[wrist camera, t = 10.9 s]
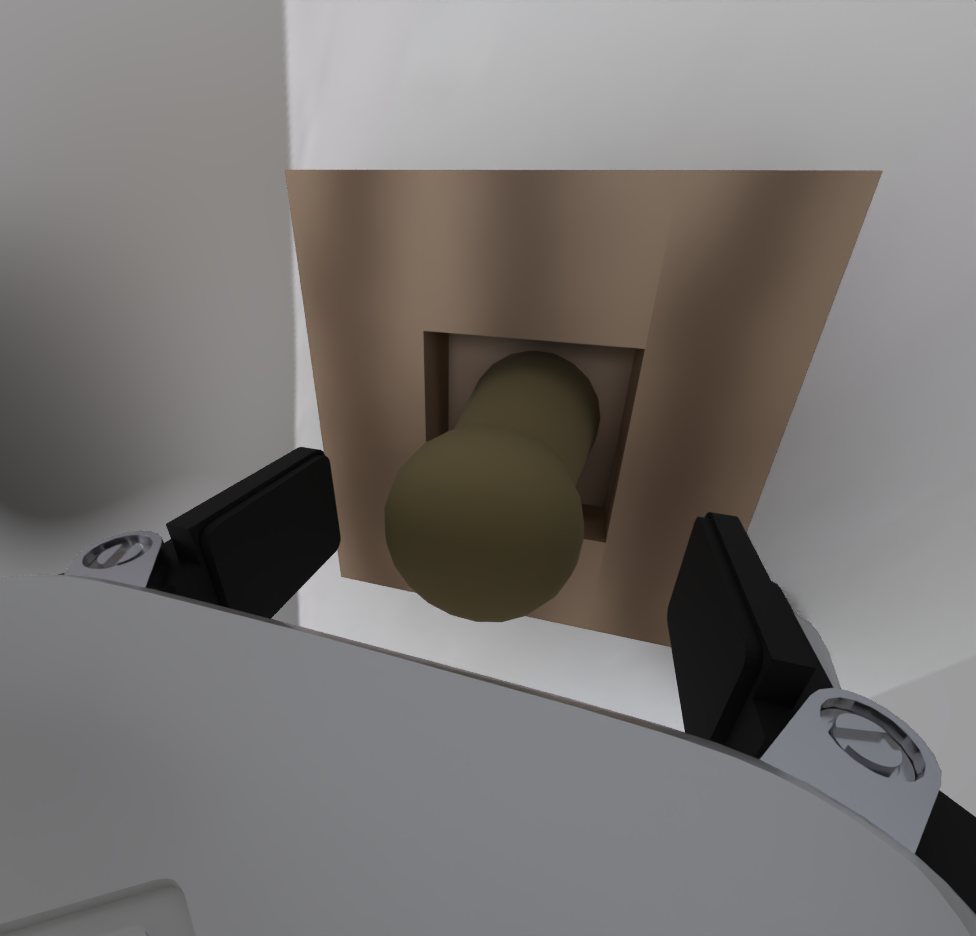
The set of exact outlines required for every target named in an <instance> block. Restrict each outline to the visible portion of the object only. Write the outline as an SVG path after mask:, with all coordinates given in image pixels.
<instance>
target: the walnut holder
mask: <svg viewBox="0 0 976 936" xmlns="http://www.w3.org/2000/svg"><path fill="white" fill-rule="evenodd" d="M285 174H286V182H287V189H288V196H289V203H290V210H291V218H292V225H293V232H294V239H295V247H296V254H297V261H298V268H299V275H300V283H301V290H302V297H303V304H304V311H305V319H306V326H307V333H308V340H309V347H310V355H311V362H312V369H313V376H314V383H315V391H316V398H317V405H318V412H319V420H320V427H321V434H322V441H323V448H324V454H325V456H327V457H328V458H329V460H330V465H331V472H332V479H333V486H334V493H335V500H336V507H337V514H338V521H339V528H340V535H341V542H340V545H339V547H338V556H339V564H340V571H341V577H345V578H350V579H354V580H359V581H364V582H368V583H373V584H378V585H382V586H387V587H392V588H396V589H401V590H406V591H411V592H415V591H414V590H413V589H412V588H410V587H409V586H408V584H407V583H406V582H405V580H404V579H403V577H402V576H401V574H400V573H399V572H398V570H397V569H396V567H395V566H394V563H393V561H392V558H391V555H390V552H389V549H388V546H387V543H386V537H385V511H384V507H385V504H386V501H387V499H388V496H389V493H390V490H391V488H392V485H393V482H394V480H395V478H396V475H397V473H398V471H399V470H400V468H401V467H402V466H403V465H404V464H405V463H406V462H407V461H408V460H409V459H410V457H411V456H412V455H413V454H414V453H415V452H416V451H417V450H418V449H419V448H420V447H421V446H422V445H424V444H425V443H426V442H428V441H430V440H432V439H434V438H436V437H438V436H440V435H442V434H444V433H446V432H448V431H450V430H453V429H454V428H455V426H456V424H457V422H458V420H459V418H460V416H461V414H462V412H463V410H464V408H465V406H466V404H467V403H468V401H469V399H470V397H471V395H472V393H473V391H474V389H475V387H476V385H477V383H478V381H479V379H480V378H481V377H482V375H483V374H484V373H485V372H486V371H487V370H488V369H489V368H490V367H491V366H492V364H494V363H496V362H498V361H499V360H501V359H503V358H505V357H507V356H508V355H510V354H514V353H520V352H525V351H531V350H534V351H541V352H548V353H554V354H556V355H558V356H560V357H562V358H564V359H566V360H568V361H570V362H572V363H574V364H575V365H576V366H577V367H578V368H579V369H580V370H581V371H582V372H583V373H584V374H585V375H586V376H587V377H588V378H589V380H590V382H591V384H592V386H593V388H594V391H595V393H596V395H597V397H598V401H599V410H600V423H599V427H598V432H597V436H596V440H595V442H594V444H593V447H592V449H591V451H590V454H589V456H588V458H587V461H586V463H585V465H584V468H583V470H582V472H581V475H580V477H579V479H578V482H577V484H576V486H575V487H576V489H577V491H578V493H579V495H580V498H581V505H582V513H583V520H584V539H583V543H582V547H581V551H580V555H579V559H578V563H577V565H576V567H575V569H574V571H573V573H572V575H571V577H570V578H569V579H568V581H567V582H566V583H565V585H564V586H563V588H562V589H561V590H560V592H559V593H558V594H557V596H556V597H554V598H553V599H551V600H550V601H548V602H546V603H545V604H543V605H542V606H540V607H539V608H537V609H536V610H534V611H532V612H531V613H529V614H527V615H526V616H528V617H533V618H537V619H542V620H547V621H551V622H556V623H561V624H565V625H570V626H575V627H579V628H584V629H589V630H594V631H598V632H603V633H608V634H612V635H617V636H622V637H626V638H631V639H636V640H640V641H645V642H650V643H655V644H659V645H664V646H669V647H671V642H670V636H669V630H668V624H667V610H668V605H669V602H670V599H671V596H672V592H673V589H674V586H675V583H676V580H677V576H678V573H679V570H680V567H681V564H682V560H683V557H684V554H685V551H686V548H687V544H688V541H689V538H690V535H691V532H692V528H693V525H694V522H695V520H696V518H697V517H704V518H705V516H706V514H707V513H708V512H713V513H719V514H726V515H732V516H737V517H738V518H739V520H740V521H741V523H742V525H743V527H744V529H745V531H746V532H747V530H748V527H749V524H750V522H751V519H752V516H753V514H754V511H755V508H756V506H757V503H758V500H759V498H760V495H761V492H762V490H763V487H764V484H765V482H766V479H767V476H768V474H769V471H770V468H771V466H772V463H773V461H774V458H775V455H776V453H777V450H778V447H779V445H780V442H781V439H782V437H783V434H784V431H785V429H786V426H787V423H788V421H789V418H790V415H791V413H792V410H793V407H794V405H795V402H796V400H797V397H798V394H799V392H800V389H801V386H802V384H803V381H804V378H805V376H806V373H807V370H808V368H809V365H810V362H811V360H812V357H813V354H814V352H815V349H816V346H817V344H818V341H819V338H820V336H821V333H822V331H823V328H824V325H825V323H826V320H827V317H828V315H829V312H830V309H831V307H832V304H833V301H834V299H835V296H836V293H837V291H838V288H839V285H840V283H841V280H842V277H843V275H844V272H845V269H846V267H847V264H848V262H849V259H850V256H851V254H852V251H853V248H854V246H855V243H856V240H857V238H858V235H859V232H860V230H861V227H862V224H863V222H864V219H865V216H866V214H867V211H868V208H869V206H870V203H871V200H872V198H873V195H874V193H875V190H876V187H877V185H878V182H879V179H880V177H881V174H882V171H778V170H285ZM415 593H416V592H415Z"/></svg>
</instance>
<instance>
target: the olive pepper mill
mask: <svg viewBox="0 0 976 936" xmlns="http://www.w3.org/2000/svg"><path fill="white" fill-rule="evenodd" d="M599 423H600V410H599V401H598V397H597V395H596V393H595V391H594V388H593V386H592V384H591V382H590V380H589V378H588V377H587V376H586V375H585V374H584V373H583V372H582V371H581V370H580V369H579V368H578V367H577V366H576V365H575V364H574V363H572V362H570V361H568V360H566V359H564V358H562V357H560V356H558V355H556V354H554V353H548V352H541V351H534V350H531V351H525V352H520V353H514V354H510V355H508V356H507V357H505V358H503V359H501V360H499V361H498V362H496V363H494V364H492V366H491V367H490V368H489V369H488V370H487V371H486V372H485V373H484V374H483V375H482V377H481V378H480V379H479V381H478V383H477V385H476V387H475V389H474V391H473V393H472V395H471V397H470V399H469V401H468V403H467V404H466V406H465V408H464V410H463V412H462V414H461V416H460V418H459V420H458V422H457V424H456V426H455V428H454V429H453V430H450V431H448V432H446V433H444V434H442V435H440V436H438V437H436V438H434V439H432V440H430V441H428V442H426V443H425V444H424V445H422V446H421V447H420V448H419V449H418V450H417V451H416V452H415V453H414V454H413V455H412V456H411V457H410V459H409V460H408V461H407V462H406V463H405V464H404V465H403V466H402V467H401V468H400V470H399V471H398V473H397V475H396V478H395V480H394V482H393V485H392V488H391V490H390V493H389V496H388V499H387V501H386V504H385V507H384V511H385V537H386V543H387V546H388V549H389V552H390V555H391V558H392V561H393V563H394V566H395V567H396V569H397V570H398V572H399V573H400V574H401V576H402V577H403V579H404V580H405V582H406V583H407V584H408V586H409V587H410V588H412V589H413V590H414V591H415V592H416V593H417V594H419V595H420V596H421V597H422V598H423V599H424V600H426V601H427V602H428V603H430V604H432V605H433V606H435V607H437V608H439V609H441V610H443V611H445V612H447V613H449V614H450V615H454V616H457V617H461V618H465V619H469V620H472V621H476V622H504V621H507V620H511V619H515V618H519V617H523V616H526V615H527V614H529V613H531V612H532V611H534V610H536V609H537V608H539V607H540V606H542V605H543V604H545V603H546V602H548V601H550V600H551V599H553V598H554V597H556V596H557V594H558V593H559V592H560V590H561V589H562V588H563V586H564V585H565V583H566V582H567V581H568V579H569V578H570V577H571V575H572V573H573V571H574V569H575V567H576V565H577V563H578V559H579V555H580V551H581V547H582V543H583V539H584V520H583V513H582V505H581V498H580V495H579V493H578V491H577V489H576V487H575V486H576V484H577V482H578V479H579V477H580V475H581V472H582V470H583V468H584V465H585V463H586V461H587V458H588V456H589V454H590V451H591V449H592V447H593V444H594V442H595V440H596V436H597V432H598V427H599Z"/></svg>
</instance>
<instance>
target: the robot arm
mask: <svg viewBox="0 0 976 936" xmlns="http://www.w3.org/2000/svg"><path fill="white" fill-rule="evenodd" d="M166 526H167V529H168V531H169V534H170V537H171V539H170V540H169V541H167V542H165V543H164V542H163V540H162V537H161V536H160V535H159V534H158V533H154V532H152V531H133V532H126V533H122V534H118V535H114V536H111V537H108V538H106V539H103V540H100V541H99V542H96V543H94V544H92V545H90V546H89V547H87V548H86V549H84V550H83V551H82V552H80V553H79V554H78V555H77V556H76V557H75V558H74V559H73V561H72V562H71V564H70V566H69V567H68V569H67V570H66V572H65V573H63V574H58V575H51V574H36V575H23V576H22V575H21V576H9V577H0V936H976V817H975V816H973V815H972V814H970V813H969V812H968V811H967V810H965V809H964V808H963V807H961V806H960V805H958V804H957V803H956V802H954V801H953V800H952V799H950V798H949V797H948V796H946V795H945V794H944V793H942V792H941V791H940V790H939V789H940V787H941V769H940V767H939V765H938V762H937V760H936V757H935V755H934V754H933V752H932V751H931V750H930V749H929V747H928V746H927V745H926V743H925V742H924V740H923V739H922V738H921V737H920V736H919V735H918V734H917V733H916V732H915V731H914V730H913V729H912V728H910V726H909V725H908V724H906V723H905V722H904V721H903V720H901V719H900V718H899V717H897V716H896V715H894V714H893V713H892V712H890V711H889V710H888V709H886V708H885V707H883V706H881V705H879V704H877V703H876V702H874V701H872V700H870V699H868V698H866V697H864V696H861V695H858V694H856V693H853V692H850V691H847V690H841V689H835V688H834V687H833V685H832V684H831V682H830V680H829V678H828V676H827V674H826V672H825V670H824V669H823V667H822V665H821V663H820V661H819V659H818V657H817V655H816V654H815V652H814V650H813V648H812V646H811V644H810V642H809V640H808V639H807V637H806V635H805V633H804V631H803V629H802V627H801V625H800V624H799V622H798V620H797V618H796V616H795V614H794V612H793V610H792V609H791V607H790V605H789V603H788V601H787V599H786V597H785V595H784V594H783V592H782V590H781V588H780V587H779V586H778V584H776V583H774V582H771V580H770V578H769V576H768V574H767V572H766V570H765V568H764V566H763V564H762V562H761V560H760V558H759V556H758V554H757V553H756V551H755V549H754V547H753V545H752V543H751V541H750V539H749V537H748V535H747V533H746V531H745V529H744V527H743V525H742V523H741V521H740V520H739V518H738V517H737V516H732V515H726V514H719V513H713V512H708V513H707V514H706V516H705V518H704V517H697V518H696V520H695V522H694V525H693V528H692V532H691V535H690V538H689V541H688V544H687V548H686V551H685V554H684V557H683V560H682V564H681V567H680V570H679V573H678V576H677V580H676V583H675V586H674V589H673V592H672V596H671V599H670V602H669V605H668V610H667V624H668V630H669V636H670V642H671V648H672V655H673V661H674V667H675V673H676V679H677V685H678V692H679V698H680V704H681V710H682V716H683V723H684V729H685V733H684V732H681V731H678V730H675V729H672V728H669V727H666V726H663V725H659V724H656V723H652V722H649V721H646V720H642V719H639V718H635V717H632V716H628V715H625V714H621V713H618V712H614V711H611V710H607V709H604V708H600V707H597V706H593V705H590V704H586V703H583V702H579V701H576V700H572V699H569V698H565V697H561V696H558V695H554V694H550V693H547V692H543V691H539V690H536V689H532V688H528V687H524V686H521V685H517V684H513V683H510V682H506V681H502V680H499V679H495V678H491V677H488V676H484V675H480V674H476V673H473V672H469V671H465V670H462V669H458V668H454V667H451V666H447V665H443V664H440V663H436V662H432V661H428V660H425V659H421V658H417V657H413V656H410V655H406V654H402V653H398V652H394V651H391V650H387V649H383V648H379V647H376V646H372V645H368V644H364V643H361V642H357V641H353V640H349V639H345V638H342V637H338V636H334V635H330V634H326V633H323V632H319V631H315V630H311V629H307V628H304V627H300V626H296V625H292V624H288V623H284V622H280V621H276V620H273V619H271V618H272V617H273V616H274V614H276V613H277V612H278V611H279V610H280V608H282V607H283V605H284V604H285V603H286V602H287V601H288V600H289V599H290V598H291V597H292V596H293V595H294V594H295V593H296V592H297V591H298V590H299V589H300V588H301V587H302V586H303V585H304V584H305V583H306V582H307V581H308V580H309V579H310V578H311V577H312V575H313V574H314V573H315V572H316V571H317V570H318V569H319V568H320V567H321V566H322V565H323V564H324V563H325V562H326V561H327V560H328V559H329V558H330V557H331V556H332V555H333V554H334V553H335V552H336V551H337V549H338V547H339V545H340V542H341V535H340V528H339V521H338V514H337V507H336V500H335V493H334V486H333V479H332V472H331V465H330V460H329V458H328V457H327V456H325V454H324V452H323V451H321V450H317V449H311V448H305V447H299V448H297V449H295V450H293V451H292V452H290V453H288V454H287V455H285V456H283V457H281V458H280V459H278V460H276V461H274V462H273V463H271V464H269V465H267V466H266V467H264V468H262V469H260V470H259V471H257V472H256V473H254V474H252V475H250V476H248V477H247V478H245V479H243V480H241V481H240V482H238V483H236V484H234V485H233V486H231V487H229V488H227V489H226V490H224V491H222V492H221V493H219V494H217V495H215V496H214V497H212V498H210V499H208V500H207V501H205V502H203V503H201V504H200V505H198V506H196V507H195V508H193V509H191V510H189V511H188V512H186V513H184V514H183V515H181V516H179V517H177V518H175V519H174V520H172V521H170V522H169V523H167V524H166Z"/></svg>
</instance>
